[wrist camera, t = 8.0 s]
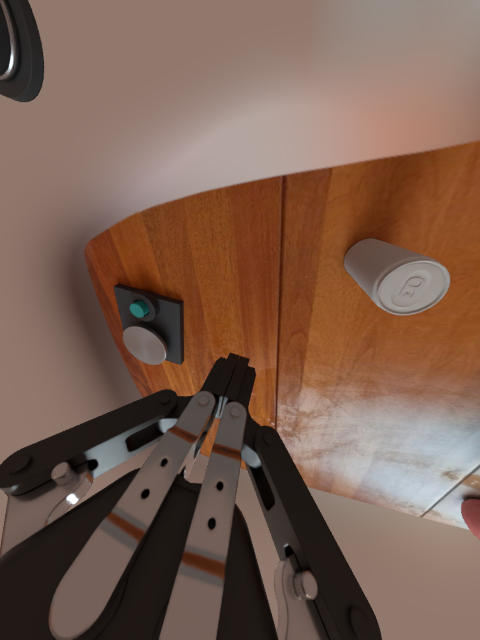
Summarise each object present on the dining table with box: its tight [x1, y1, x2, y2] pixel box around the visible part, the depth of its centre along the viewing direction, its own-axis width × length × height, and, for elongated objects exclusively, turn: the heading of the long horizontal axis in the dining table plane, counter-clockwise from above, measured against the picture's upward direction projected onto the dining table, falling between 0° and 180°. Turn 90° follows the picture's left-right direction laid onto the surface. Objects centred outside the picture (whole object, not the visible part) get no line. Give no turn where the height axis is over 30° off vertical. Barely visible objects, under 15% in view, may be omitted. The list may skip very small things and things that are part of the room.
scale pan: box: [123, 324, 168, 365], centre depth 39 cm, size 10×10×1 cm
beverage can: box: [344, 238, 450, 315], centre depth 19 cm, size 5×5×12 cm
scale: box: [113, 284, 184, 365], centre depth 39 cm, size 17×14×3 cm
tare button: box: [130, 301, 149, 317], centre depth 34 cm, size 3×3×2 cm
